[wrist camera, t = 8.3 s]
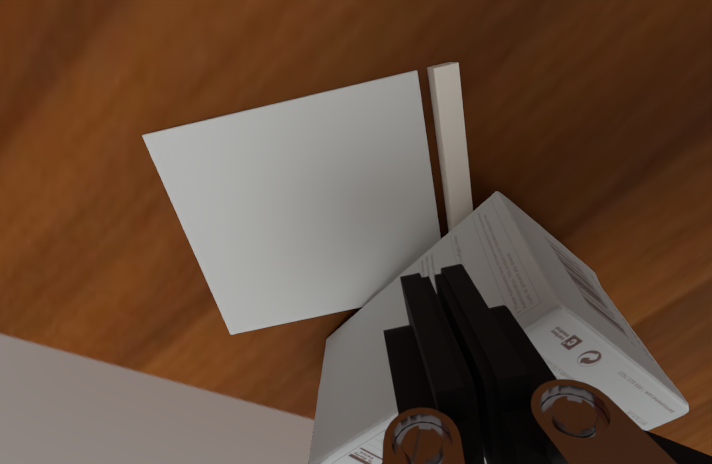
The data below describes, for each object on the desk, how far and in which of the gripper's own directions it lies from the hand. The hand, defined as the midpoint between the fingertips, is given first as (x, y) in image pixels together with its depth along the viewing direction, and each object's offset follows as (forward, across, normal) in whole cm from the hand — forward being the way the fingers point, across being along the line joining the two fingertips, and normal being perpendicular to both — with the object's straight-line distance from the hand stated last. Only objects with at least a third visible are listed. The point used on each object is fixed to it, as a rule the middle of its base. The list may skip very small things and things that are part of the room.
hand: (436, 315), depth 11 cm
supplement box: (+3, -6, +3) cm, 8 cm away
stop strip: (+9, -3, 0) cm, 10 cm away
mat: (+9, +4, 0) cm, 10 cm away
